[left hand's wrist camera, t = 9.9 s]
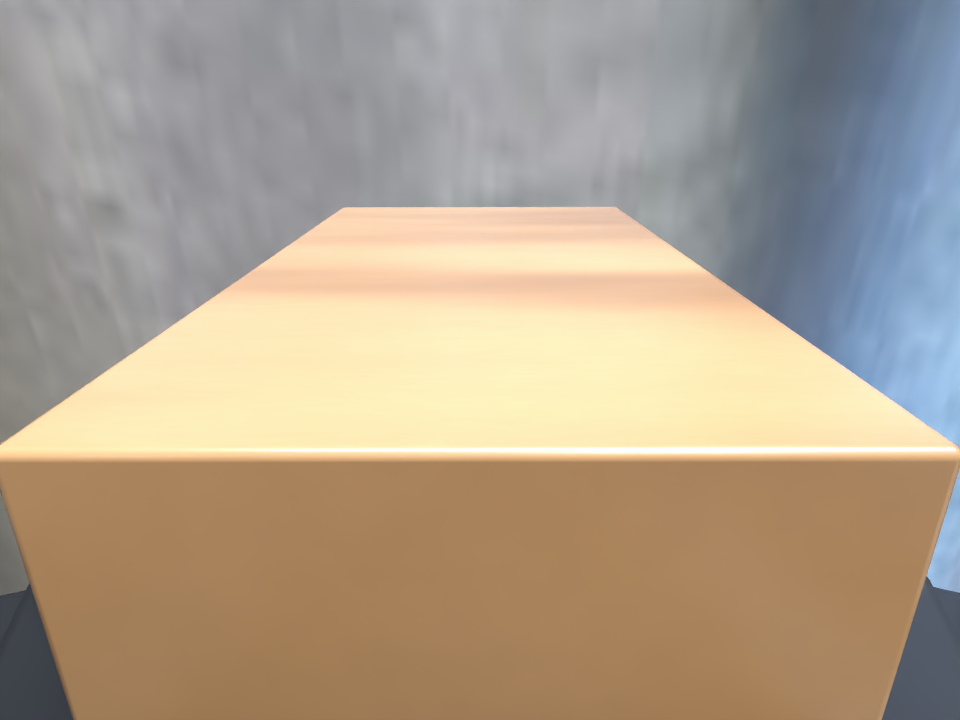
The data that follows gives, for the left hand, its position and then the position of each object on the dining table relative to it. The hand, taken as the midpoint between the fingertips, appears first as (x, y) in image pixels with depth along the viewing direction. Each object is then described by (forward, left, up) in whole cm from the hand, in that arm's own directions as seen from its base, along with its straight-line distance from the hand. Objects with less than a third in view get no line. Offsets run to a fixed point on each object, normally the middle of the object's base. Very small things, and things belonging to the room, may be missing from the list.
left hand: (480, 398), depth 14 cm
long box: (+9, -2, -1) cm, 9 cm away
